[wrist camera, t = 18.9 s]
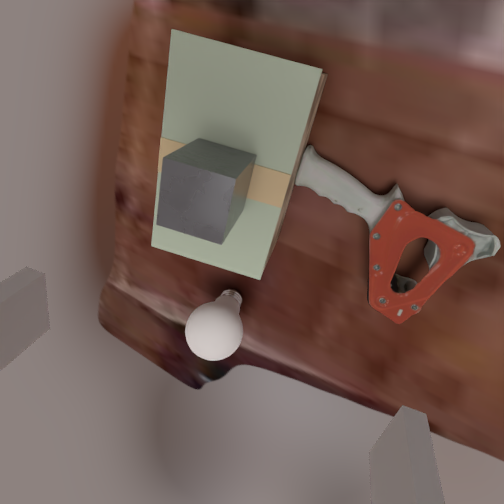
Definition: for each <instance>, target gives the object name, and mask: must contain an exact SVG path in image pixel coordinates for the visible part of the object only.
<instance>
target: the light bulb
mask: <svg viewBox="0 0 504 504" xmlns="http://www.w3.org/2000/svg"><path fill="white" fill-rule="evenodd" d="M241 304H242V296H241V294H240V293H239V292H238V291H237V290H235V289H231V288H230V289H226V290H224V291H223V292H222V294H221V295H220V297H218V298H217V299H216V300H215V301H214V302H209V303H205V304H203V305H201V306H199V307H198V308H196V309H195V310H194V311H193V312H192V314H191V315H190V317H189V319H188V321H187V324H186V328H185V335H186V341H187V343H188V345H189V347H190V349H191V350H192V351H193V352H194V353H195V354H196V355H197V356H199V357H201V358H203V359H206V360H211V361H216V360H221V359H224V358H226V357H228V356H230V355H231V354H232V353H233V352H235V350H236V349H237V348H238V346H239V345H240V342H241V340H242V336H243V325H242V322H241V319H240V316H239V312H240V306H241Z"/></svg>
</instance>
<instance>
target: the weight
mask: <svg viewBox="0 0 504 504" xmlns="http://www.w3.org/2000/svg"><path fill="white" fill-rule="evenodd" d="M256 156H257V155H256V154H252V153H249V152H245V151H242V150H239V149H235V148H232V147H228V146H225V145H221V144H218V143H215V142H211V141H208V140H204V139H201V138H198V139H196V140H194V141H192V142H190V143H188V144H187V145H185V146H183V147H181V148H179V149H177V150H176V151H174V152H172V153H170V154H168V155H166V156H165V157H163V161H162V171H161V181H160V191H159V201H158V211H157V221H156V225H159V226H162V227H165V228H168V229H172V230H175V231H178V232H181V233H184V234H188V235H191V236H194V237H197V238H200V239H204V240H207V241H210V242H213V243H217V244H220V245H222V244H223V242H224V241H225V239H226V237H227V236H228V234H229V233H230V231H231V229H232V228H233V226H234V225H235V223H236V221H237V220H238V218H239V217H240V215H241V213H242V212H243V210H244V206H245V202H246V198H247V194H248V189H249V185H250V181H251V177H252V173H253V169H254V164H255V160H256Z"/></svg>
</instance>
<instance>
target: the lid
mask: <svg viewBox="0 0 504 504" xmlns="http://www.w3.org/2000/svg"><path fill="white" fill-rule="evenodd" d="M322 70H323V69H320V68H316V67H312V66H309V65H305V64H301V63H298V62H294V61H290V60H286V59H283V58H279V57H275V56H271V55H268V54H264V53H260V52H257V51H253V50H249V49H245V48H242V47H238V46H234V45H230V44H227V43H223V42H219V41H216V40H212V39H208V38H204V37H201V36H197V35H193V34H189V33H186V32H182V31H178V30H174V29H172V30H171V40H170V51H169V62H168V73H167V83H166V94H165V105H164V115H163V126H162V137H161V140H160V151H159V162H158V180H157V191H156V201H155V212H154V223H153V234H152V244H151V246H153V247H156V248H159V249H162V250H165V251H169V252H172V253H175V254H178V255H181V256H185V257H188V258H191V259H194V260H197V261H201V262H204V263H207V264H210V265H213V266H217V267H220V268H223V269H226V270H229V271H233V272H236V273H239V274H242V275H245V276H249V277H252V278H255V279H258V280H260V279H261V276H262V273H263V269H264V266H265V263H266V259H267V256H268V252H269V249H270V246H271V242H272V239H273V235H274V232H275V229H276V225H277V222H278V219H279V215H280V212H281V208H282V205H283V202H284V198H285V195H286V191H287V188H288V185H289V181H290V178H291V174H292V171H293V168H294V164H295V161H296V158H297V154H298V151H299V147H300V144H301V141H302V137H303V134H304V130H305V127H306V124H307V120H308V117H309V114H310V110H311V107H312V103H313V100H314V97H315V93H316V90H317V86H318V83H319V80H320V76H321V73H322ZM198 138H201V139H204V140H208V141H211V142H215V143H218V144H221V145H225V146H228V147H232V148H235V149H239V150H242V151H245V152H249V153H252V154H256V155H257V156H256V160H255V164H254V169H253V173H252V177H251V181H250V185H249V189H248V194H247V198H246V202H245V206H244V210H243V212H242V213H241V215H240V217H239V218H238V220H237V221H236V223H235V225H234V226H233V228H232V229H231V231H230V233H229V234H228V236H227V237H226V239H225V241H224V242H223V244H222V245H220V244H217V243H213V242H210V241H207V240H204V239H200V238H197V237H194V236H191V235H188V234H184V233H181V232H178V231H175V230H172V229H168V228H165V227H162V226H159V225H156V221H157V211H158V201H159V191H160V181H161V171H162V161H163V157H165V156H166V155H168V154H170V153H172V152H174V151H176V150H177V149H179V148H181V147H183V146H185V145H187V144H188V143H190V142H192V141H194V140H196V139H198Z"/></svg>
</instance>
